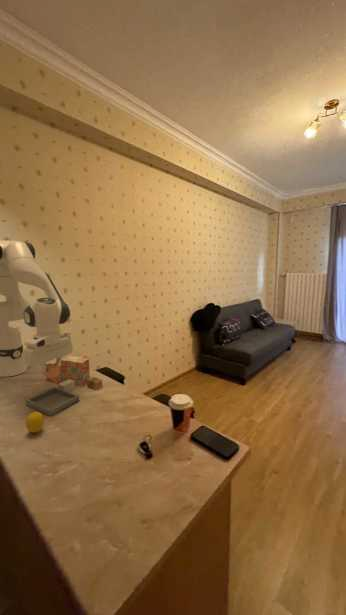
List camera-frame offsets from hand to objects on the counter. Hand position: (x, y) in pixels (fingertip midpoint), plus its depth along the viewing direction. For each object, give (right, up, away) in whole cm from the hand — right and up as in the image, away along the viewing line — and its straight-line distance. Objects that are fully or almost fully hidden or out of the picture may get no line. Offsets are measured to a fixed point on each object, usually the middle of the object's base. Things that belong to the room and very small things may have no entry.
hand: (51, 369), depth 112 cm
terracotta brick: (0, -3, +1) cm, 3 cm away
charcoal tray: (0, -15, +3) cm, 15 cm away
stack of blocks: (-2, -12, +24) cm, 27 cm away
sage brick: (+1, -13, +15) cm, 20 cm away
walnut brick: (+13, -13, +18) cm, 26 cm away
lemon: (+2, -19, -17) cm, 25 cm away
